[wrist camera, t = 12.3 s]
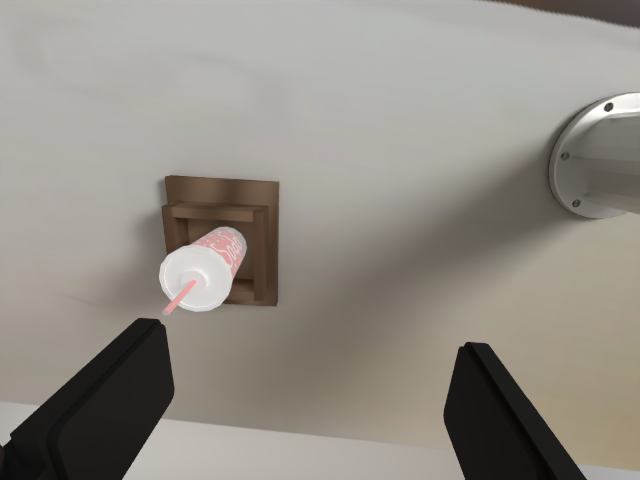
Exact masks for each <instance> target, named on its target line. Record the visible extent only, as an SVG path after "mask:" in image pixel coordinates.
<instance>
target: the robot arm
mask: <svg viewBox="0 0 640 480" xmlns="http://www.w3.org/2000/svg"><path fill="white" fill-rule="evenodd" d="M549 182H550V186H551V190H552V192H553V194H554V196H555V198H556V199H557V201H558V202H559V203H560V204H561V205H562V206H563V207H564V208H566V209H567V210H569V211H570V212H573V213H575V214H578V215H581V216H585V217H589V218H600V219H602V218H611V217H615V216H619V215H622V214H625V213H627V212H632V213H636V214H640V92H629V93H623V94H617V95H613V96H610V97H607V98H604V99H602V100H600V101H598V102H596V103H594V104H592V105H590V106H589V107H587V108H586V109H585V110H583V111H582V112H581V113H579V114H578V115H577V116H576V117H575V118H574V119H573V120H572V121H571V122H570V123H569V124H568V126H567V127H566V128H565V130H564V131H563V132H562V134H561V135H560V137H559V139H558V141H557V143H556V144H555V146H554V149H553V152H552V155H551V158H550V164H549ZM173 396H174V382H173V375H172V369H171V362H170V355H169V348H168V342H167V335H166V328H165V326H164V325H163V324H161V322H160V321H159V320H158V319H149V318H138V319H137V320H135V321H134V322H133V323H132V324H131V325H130V326H129V327H128V328H127V329H125V330H124V331H123V332H122V333H121V334H120V335H119V336H118V337H117V338H115V339H114V340H113V341H112V342H111V343H110V344H109V345H108V346H107V347H106V348H104V349H103V350H102V351H101V352H100V353H99V354H98V355H97V356H96V357H94V358H93V359H92V360H91V361H90V362H89V363H88V364H87V365H86V366H85V367H83V368H82V369H81V370H80V371H79V372H78V373H77V374H76V375H75V376H74V377H72V378H71V379H70V380H69V381H68V382H67V383H66V384H65V385H64V386H62V387H61V388H60V389H59V390H58V391H57V392H56V393H55V394H54V395H53V396H51V397H50V398H49V399H48V400H47V401H46V402H45V403H44V404H43V405H41V406H40V407H39V408H38V409H37V410H36V411H35V412H34V413H33V414H32V415H30V416H29V417H28V418H27V419H26V420H25V421H24V422H23V423H22V424H21V425H20V426H18V427H17V428H16V429H15V430H14V431H13V432H12V433H11V434H10V436H11V440H10V441H9V442H8V443H7V444H6V445H4V446H3V447H2V446H1V445H0V480H122V479H123V477H124V475H125V474H126V472H127V471H128V469H129V467H130V466H131V464H132V463H133V461H134V460H135V458H136V456H137V455H138V453H139V452H140V450H141V449H142V447H143V445H144V444H145V442H146V440H147V439H148V437H149V436H150V434H151V433H152V431H153V430H154V428H155V426H156V425H157V423H158V422H159V420H160V418H161V417H162V415H163V414H164V412H165V411H166V409H167V407H168V406H169V404H170V403H171V401H172V399H173ZM444 423H445V426H446V429H447V431H448V434H449V437H450V439H451V442H452V445H453V448H454V450H455V453H456V456H457V458H458V461H459V464H460V467H461V469H462V472H463V475H464V477H465V480H587V479H586V478H585V476H584V475H583V474H582V472H581V471H580V469H579V468H578V467H577V465H576V464H575V462H574V461H573V460H572V458H571V457H570V456H569V454H568V453H567V451H566V450H565V449H564V447H563V446H562V445H561V443H560V442H559V440H558V439H557V438H556V436H555V435H554V433H553V432H552V431H551V429H550V428H549V427H548V425H547V424H546V422H545V421H544V420H543V418H542V417H541V416H540V414H539V413H538V411H537V410H536V409H535V407H534V406H533V404H532V403H531V402H530V400H529V399H528V398H527V397H526V396H525V394H524V393H523V391H522V390H521V389H520V387H519V386H518V384H517V383H516V382H515V380H514V379H513V378H512V376H511V375H510V373H509V372H508V371H507V369H506V368H505V366H504V365H503V364H502V362H501V361H500V360H499V358H498V357H497V355H496V354H495V353H494V351H493V350H492V348H491V347H490V346H489V345H488V344H486V343H475V342H466V343H465V345H464V347H463V346H461V347H460V348H459V350H458V354H457V358H456V362H455V366H454V370H453V375H452V379H451V383H450V387H449V391H448V395H447V400H446V404H445V408H444Z"/></svg>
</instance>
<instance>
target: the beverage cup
mask: <svg viewBox="0 0 640 480" xmlns="http://www.w3.org/2000/svg"><path fill="white" fill-rule="evenodd" d="M246 249H247V246H246V241H245V239H244V237H243V236H242V234H241V233H240V232H238V231H237V230H235V229H233V228H230V227H219V228H217V229H215V230H213V231H211V232H210V233H208V234H206V235H205V236H203V237H202V238H200V239H198V240H197V241H195V242H194V243H192V244H190V245H189V246H183V247H181V248H179V249H177V250H176V251H174V252H172V253H170V254H169V255H168V256H167V257H166V259H165V260H164V261H163V263H162V264H161V267H160V274H159V279H160V283H161V286H162V289H163V291H164V292H165V294H166V295H167V296H168V297H169V299H170V300H171V301H172V302H171V303H170V304H169V305H168V306H167V307H166V308H165V309H164V310H163V311H162V314H163V315H164V316H168V315H169V314H170V313H171V311H172V310H173V309H174V308H175V307H176V306H177V305H178V306H180V307H182V308H184V309H187V310H191V311H195V312H199V311H209V310H212V309H214V308H216V307H218V306H220V305H221V304H222V302H223V301H224V300H225V299H226V297H227V296H228V295H229V292H230V290H231V285H232V281H233V278H234V276H235V274H236V272H237V270H238V268H239V266H240V264H241V262H242V260H243V258H244V256H245V253H246Z"/></svg>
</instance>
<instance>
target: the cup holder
mask: <svg viewBox="0 0 640 480" xmlns="http://www.w3.org/2000/svg"><path fill="white" fill-rule="evenodd" d="M165 182H166V191H167V201H168V204H167V205H165V206H162V215H163V224H164V232H165V241H166V250H167V256H168V255H169V254H170V253H172V252H174V251H176V250H177V249H179V248H181V247H183V246H189V245H190V244H192V243H194V242H195V241H197V240H198V239H200V238H202V237H203V236H205V235H206V234H208V233H210V232H211V231H213V230H215V229H217V228H219V227H230V228H233V229H235V230H237V231H238V232H240V233H241V234H242V236H243V237H244V239H245V241H246V246H247V249H246V253H245V256H244V258H243V260H242V262H241V264H240V266H239V268H238V270H237V272H236V274H235V276H234V278H233V281H232V285H231V290H230V292H229V295H228V296H227V297H226V299H225V300H224V301H223V302H222V303H225V304H242V305H260V306H276V305H277V302H278V236H279V182H273V181H256V180H239V179H222V178H206V177H189V176H172V175H170V176H166V177H165Z"/></svg>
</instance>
